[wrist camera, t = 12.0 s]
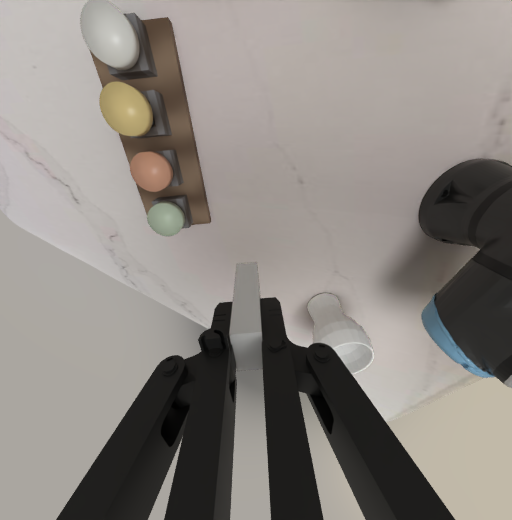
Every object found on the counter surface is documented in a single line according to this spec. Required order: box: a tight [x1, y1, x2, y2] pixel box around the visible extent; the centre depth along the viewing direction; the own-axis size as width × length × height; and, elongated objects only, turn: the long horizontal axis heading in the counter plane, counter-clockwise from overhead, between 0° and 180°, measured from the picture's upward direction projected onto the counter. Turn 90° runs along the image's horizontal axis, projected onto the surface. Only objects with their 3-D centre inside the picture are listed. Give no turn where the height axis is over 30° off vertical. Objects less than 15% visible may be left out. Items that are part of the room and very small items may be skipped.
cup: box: [307, 293, 374, 374], centre depth 45 cm, size 11×11×15 cm
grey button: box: [80, 0, 139, 70], centre depth 25 cm, size 5×5×5 cm
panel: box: [90, 13, 211, 228], centre depth 33 cm, size 27×11×4 cm, turn 5°
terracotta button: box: [130, 151, 173, 192], centre depth 32 cm, size 5×5×5 cm
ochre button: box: [100, 82, 155, 136], centre depth 27 cm, size 5×5×5 cm
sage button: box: [147, 201, 185, 236], centre depth 35 cm, size 5×5×5 cm
